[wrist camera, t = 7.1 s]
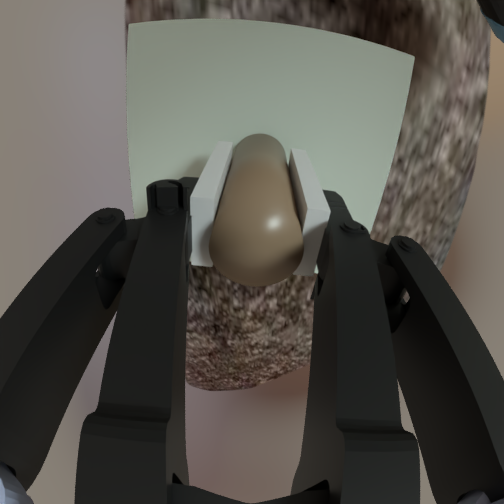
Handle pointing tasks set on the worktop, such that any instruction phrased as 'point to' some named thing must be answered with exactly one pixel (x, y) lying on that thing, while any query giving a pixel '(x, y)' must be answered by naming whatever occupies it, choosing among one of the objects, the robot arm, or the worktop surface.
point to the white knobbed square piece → (262, 126)
